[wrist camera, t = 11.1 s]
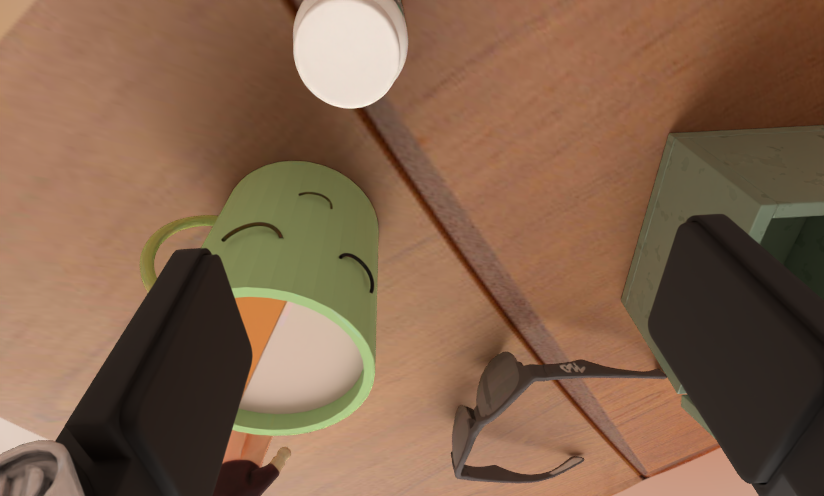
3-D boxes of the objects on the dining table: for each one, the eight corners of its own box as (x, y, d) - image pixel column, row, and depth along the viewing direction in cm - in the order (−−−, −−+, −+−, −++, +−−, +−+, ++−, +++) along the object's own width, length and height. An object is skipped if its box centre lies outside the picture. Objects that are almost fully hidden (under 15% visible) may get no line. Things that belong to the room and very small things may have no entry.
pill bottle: (419, 38, 25) (432, 84, 18) (343, 81, 26) (328, 140, 19) (375, -56, 23) (370, -43, 16) (292, -4, 24) (255, 29, 17)
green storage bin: (668, 132, 29) (762, 205, 22) (855, 123, 29) (1009, 191, 22) (620, 300, 37) (677, 394, 30) (768, 292, 37) (860, 383, 30)
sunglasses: (503, 320, 37) (525, 371, 33) (663, 347, 43) (698, 394, 39) (426, 438, 46) (436, 490, 42) (567, 448, 51) (588, 495, 48)
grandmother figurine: (281, 373, 40) (244, 534, 29) (305, 398, 42) (279, 558, 32) (206, 399, 41) (146, 562, 31) (233, 423, 43) (185, 582, 33)
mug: (406, 194, 31) (415, 326, 21) (344, 305, 36) (329, 452, 26) (207, 110, 27) (104, 222, 17) (171, 247, 32) (76, 393, 22)
